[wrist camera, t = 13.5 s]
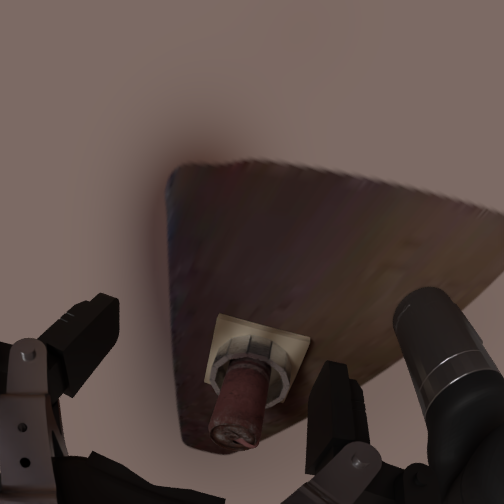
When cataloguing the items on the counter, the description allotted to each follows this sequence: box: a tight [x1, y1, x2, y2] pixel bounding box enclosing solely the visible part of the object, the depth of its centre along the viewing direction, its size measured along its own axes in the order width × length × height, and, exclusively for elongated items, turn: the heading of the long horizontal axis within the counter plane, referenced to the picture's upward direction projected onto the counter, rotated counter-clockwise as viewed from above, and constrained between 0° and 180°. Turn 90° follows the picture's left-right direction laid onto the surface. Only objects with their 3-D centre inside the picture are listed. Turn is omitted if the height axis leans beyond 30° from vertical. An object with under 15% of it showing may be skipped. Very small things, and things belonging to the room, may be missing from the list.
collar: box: [209, 334, 291, 408], centre depth 43 cm, size 11×11×4 cm
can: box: [208, 357, 271, 451], centre depth 39 cm, size 6×6×14 cm
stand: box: [204, 313, 310, 403], centre depth 46 cm, size 13×13×1 cm
